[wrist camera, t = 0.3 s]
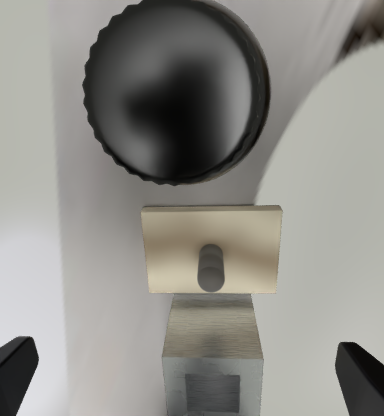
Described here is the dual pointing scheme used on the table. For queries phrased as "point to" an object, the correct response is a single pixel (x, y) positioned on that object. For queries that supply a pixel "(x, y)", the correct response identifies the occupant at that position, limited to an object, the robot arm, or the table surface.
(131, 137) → the supplement bottle
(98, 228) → the table surface
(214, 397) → the hollow square tube
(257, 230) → the shaft plate
